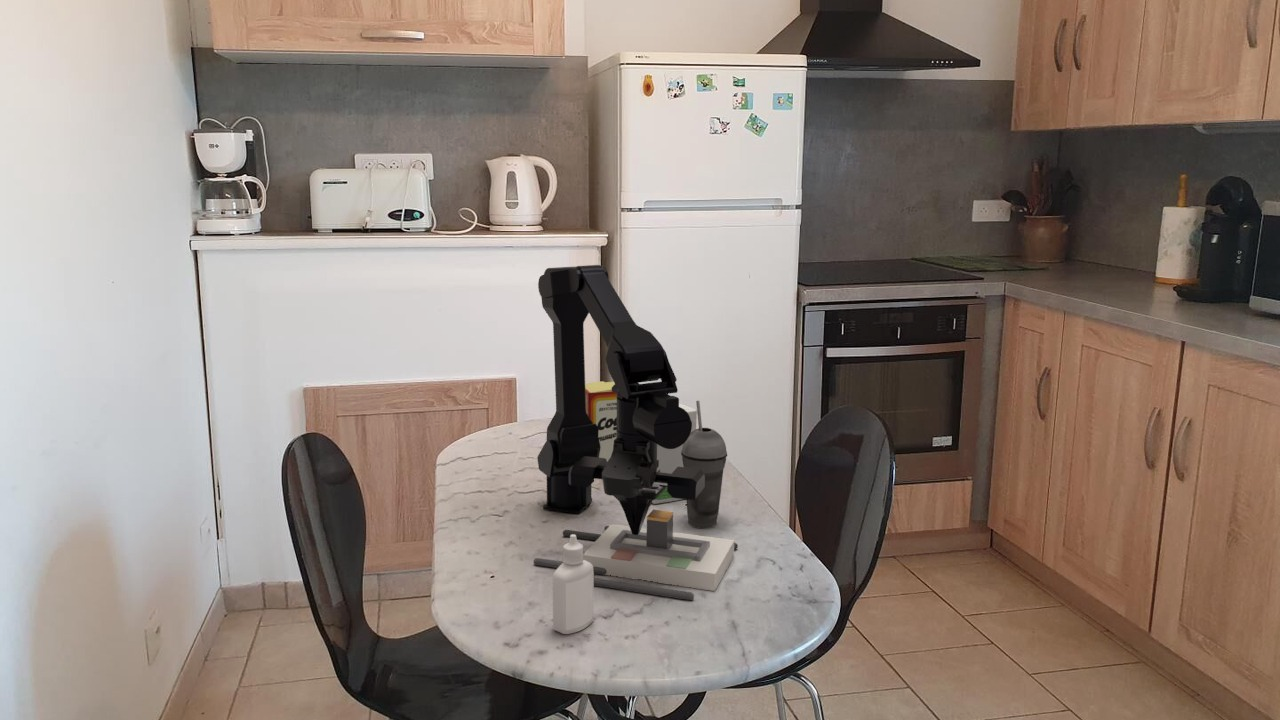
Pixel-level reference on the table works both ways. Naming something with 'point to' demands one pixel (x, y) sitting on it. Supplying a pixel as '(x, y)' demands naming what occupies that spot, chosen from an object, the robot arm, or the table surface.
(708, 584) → the breaker switch base
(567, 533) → the rod
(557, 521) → the table surface
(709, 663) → the table surface
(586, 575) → the eye dropper bottle
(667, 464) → the skincare box
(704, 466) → the beverage cup
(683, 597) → the rod
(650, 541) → the breaker toggle
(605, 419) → the baking soda box
